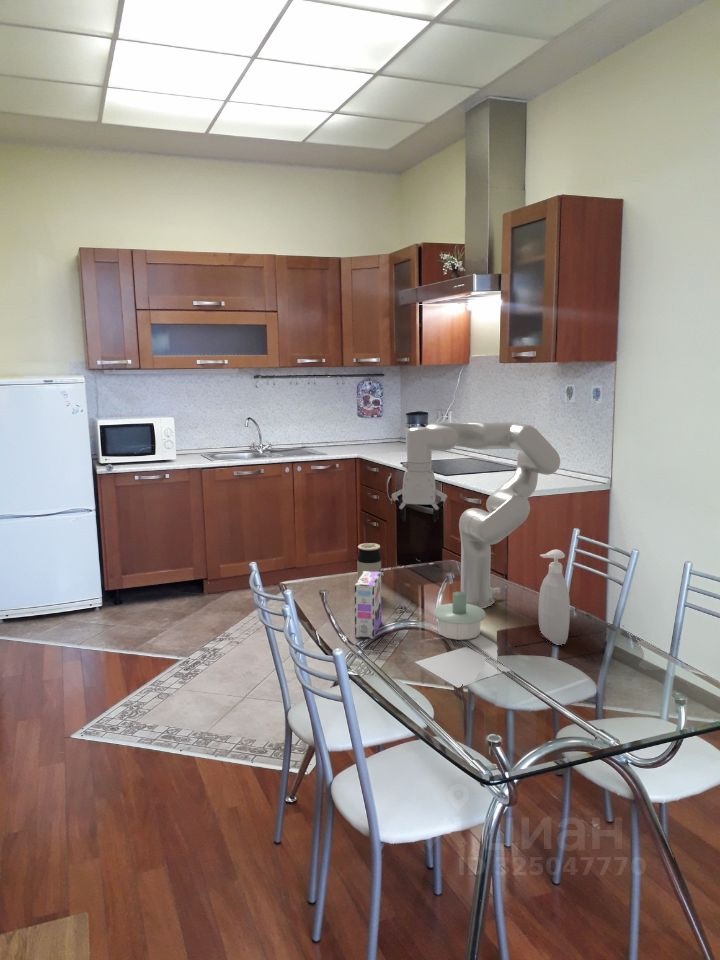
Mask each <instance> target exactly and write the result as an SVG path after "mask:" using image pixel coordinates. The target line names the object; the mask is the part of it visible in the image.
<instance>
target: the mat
mask: <svg viewBox="0 0 720 960" xmlns="http://www.w3.org/2000/svg"><path fill="white" fill-rule="evenodd" d="M485 658H486V656H485V655H482V654H481V653H480V652H477V651H475V650H473V649H471V648H469V647H468V646H463V647H460V648H457V649H454V650H450V651H447V652H443V653H441V654H437V655H433V656H430V657H427V658H423V659H420V660H417V661H414V663H415V664H417V665H418V666H420V667H422V668H423V669H425V670H427V671H429V672H430V673H432V674H433V675H435V676H437V677H438V678H441V680H444V681H445V682H447V683H449V684H450V685H452V686H454V687H455V688H457V689H460V688H462V687H465V686H468V685H471V684H475V683H474V679H476V678H477V676H478V675H477V674H479V672H481V671H483V669H484V668H485V667H484V666H485V665H486V664H485V660H486V659H485ZM497 667H498V668H499V669H500V670H501V671H505V673H507V672H511V671H512V669H510V668H508V667H506V666H504V665H502V664H500V663H498V664H497ZM462 684H463V686H462ZM461 686H462V687H461Z"/></svg>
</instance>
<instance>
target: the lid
mask: <svg viewBox="0 0 720 960" xmlns="http://www.w3.org/2000/svg"><path fill="white" fill-rule="evenodd" d="M466 595H467V594H466V593H465V592H461V591H453V592H452V603H444V604H441V605H438V606H437V607H435V608H434V609H433V617H434V618H435V619H436V620H437V621H438V620H440V621H443V622H447V623H452V624H472V623H477V622H480V623H481V622H482V621H483V620H484V619H485V618H486V611H485V609H484V608H480V607H477V606H474V605H470V604H466Z"/></svg>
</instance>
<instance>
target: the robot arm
mask: <svg viewBox="0 0 720 960" xmlns="http://www.w3.org/2000/svg"><path fill="white" fill-rule="evenodd" d="M406 432H407V433H406V449H407V450H406V457H407V458H406V462H403V463H402V464H401V465H402V468H404V469H406V471H404V474H403V479H402V488H401V489H399V490H397V491H395V492H393V493H391V498H392V500H393V501H394V504H395V505H396V506H397V507H398V509H399V511H400V513H399V514H400V515H399V516H400V519H401V521H402V522H406V515H407V514H406V509H407V508H406V507H405V506H406V505H431V506H432V507H433V510H432V522H433V523H436V522H437V520H438V519H439V509H440V508H441V507H442V506H443V505H444V504H445V503H446V500H447V499H448V495H447V494H446V493H444V492H442V491H440V490H438V489H437V488H436V478H435V473H434V470H432V458H433V457H432V451H441V452H443V451H450V450H452V449H455V448H456V447H461V448H466V449H472V450H479V451H480V450H517V451H518V454H517V458H516V459H517V460H516V463H517V464H516V470H515V473H514V474H513V475H512V477H511V478H509V479H508V480H507V481H506V482H505V483H504V484H502V485H501V486H500V487H498V488H497V489H496V490H495V491H494V492H492V493H491V494H490V495H489V496H488V498H487V499H486V504H485V506H486V509H487V510H484V509H482V508H477V507H471V508H468V509H467V508H466V510H464V511H463V513H461V515H460V517H459V522H458V528H459V534H460V535H459V536H460V543H461V546H460V547H461V548H460V549H461V551H460V552H461V553H460V554H461V556H460V592H465V593H466V594H467V595H466V604H470V605H474V606H477V607H484V606H488V605H491V604H492V603H493V602H494V603H495V599H494V597H493V596H494V595H495V594H500V593H502V592H501V588H500V587H492V586H491V558H492V551H491V549H492V547H491V545H495V544H498V543H499V542H501V541H503V540H504V539H505V538H506V537H507V536H509V535H510V534H511V533H513V532H514V531H515V530H516V529H517V528H518V527H520V526H521V525H522V524H523V523H524V522H525V521H526V520H527V518H528V516H529V514H530V511H531V505H530V501H529V499H528V498H530V497H531V496H532V495H533V494H534V492H535V491H536V489H537V486H538V478H539V474H541V475H546V476H548V475H550V476H551V475H553V474H555V473H557V471H558V470H559V469H560V466H561V457H560V454H559V452H558V451H557V450H556V448H555V447H554V446H553V445H552V444H551V443H550V442H549V441H548V440H547V439H546V438H545V436H543V435H542V433H541V432H540V431H539V430H538V429H537V428H535V427H534V426H532V425H531V424H527V423H526V424H525V423H519V422H513V421H512V422H465V423H464V422H455V423H454V422H441V423H440V422H439V423H437V422H434V423H429V424H428V425H426V426H413V427H409V428H408V429H407V431H406ZM401 495H402V501H401V500H400V499H399V498H398V497H399V496H401ZM437 496H438V497H440V498H441V499H440V500H439V502H437V501H436V497H437Z"/></svg>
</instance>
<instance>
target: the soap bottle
mask: <svg viewBox="0 0 720 960" xmlns="http://www.w3.org/2000/svg"><path fill="white" fill-rule="evenodd" d="M539 556H540V557H541V558H543V559H547V558H548V559H553V561H552V562H550V563H549V565H548V573H547V574H546V576H545V577H544V579H543V580H542V583H541V585H540V588H539V596H538V613H537V614H538V615H537V616H538V625H539V626H538V627H539V631H541V632H540V634H541V633H542V634H543V635H544V636H545V637H546V638H548V639H549V640H550V641H552V642H554V643H556V644H559V645H561V646H563V645H562V644H564V645H566V642H567V641H568V636H569V631H570V621H571V620H570V619H571V604H570V603H571V602H570V599H571V598H570V593H569V588H568V585H567V581H566V580H565V578H564V575H563V564H562V563H561V562H560V561H559V559H561V560H562V559H564V558H565V557H566V555H565V553H564V552H563V551H562V550H560V549H557V548H556V549H552V550H550V551H547V552H546V553H543V554H539Z"/></svg>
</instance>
